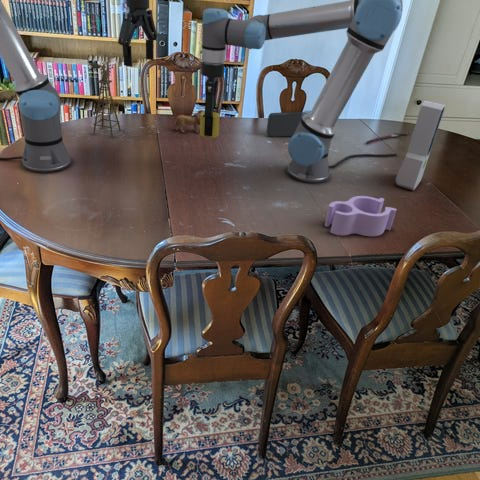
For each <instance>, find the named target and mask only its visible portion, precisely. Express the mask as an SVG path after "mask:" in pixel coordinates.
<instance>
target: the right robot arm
mask: <svg viewBox="0 0 480 480" xmlns="http://www.w3.org/2000/svg"><path fill="white" fill-rule="evenodd" d="M228 14H229V12H228V11H227V10H226V9H222V8H214V7H213V8H212V7H210V8H205V9H204V10H203V14H202V24H201V27H202V28H201V30H202V31H201V49H200V50H199V54H201V58H200V59H201V63H200V75H202V76H203V77H206V78H207V79H206V80H205V83H204V87H205V91H204V92H205V93H204V94H205V95H204V96H205V99H204V111H205V114H204V115H203V117H205V127H204V136H212V131H213V112H216V113H217V111H218V109H219V107H218V106H217V97H218V88H219V87H218V86H219V78H222V77H224V76H225V64H224V63H226V49H227V48H226V47H227V46H233V47H237V48H245V49H248V50H260V49H262V48H263V47H264V44H265V41H272V40H277V39H283V38H290V37H297V36H303V35H304V36H305V35H310V34H311V35H312V34H317V33H324V32H332V31H339V30H345V29H347V30H346V31H345V32H346V36H347V41H346V43H345V45H344V47H343V49H342V50H341V52H340V54H339V56H338V58H337V60H336V62H335V63H334V66H333V68H332V70H331V72H330V74H329V76H328V78H327V79H326V82H325V83H324V85H323V87H322V89H321V91H320V93H319V95H318V97H317V99H316V101H315V103H314V104H313V106H312V109H311V110H305V111H302V112H303V113H302V117H301V121H300V123H299V125H298V127H297V129H296V131H295V133H294V135H293V136H290V138H289V141H288V144H287V151H288V155H289V157H290V158H291V160H290V161H291V162H289V164H288V165H287V174H288V175H289V176H290V177H291V178H292V179H294V180H297V181H299V182H304V183H307V184H321V183H324V182H326V181H328V180H329V178H330V169H331V168H335V167H338V166H340V164H342V163H343V162H345V161H346V160H348V159H350V158H355V157H394V156H395V157H397V155H398V154H397V153H381V154H380V153H379V154H377V153H375V154H374V153H361V154H351V155H347V156H345V157H344V158H343V159H341V160H340V161H338V162H337V163H335V164H332V165H329V153H330V147H331V143H332V140H333V138H334V136H335V135H336V132H337V130H336V127H335V126H336V123H337V121H338V120H339V118H340V116H341V114H342V113H343V111H344V109H345V108H346V106H347V103H348V102H349V100H350V98H351V96H352V95H353V93H354V92H355V90H356V88H357V86H358V84H359V82H360V81H361V78H362V77H363V75H364V74H365V72H366V70H367V68H368V66H369V65H370V62H371V61H372V60H373V58H374V56H375V55H376V54H377V53H380V52H382V51H384V49H385V47H386V45H387V43H388V42H389V40H390V39H391V37H392V35H393V33H394V32H395V31H396V29H397V28H398V27H399V25H400V22H401V20H402V15H403V1H402V0H344V1H338V2H333V3H327V4H320V5H315V6H309V7H304V8H298V9H297V8H296V9H291V10H285V11H279V12H273V13H270V14H269V13H268V14H257V15H254V16H252V17H250V18H247V19H236V18H231V17H229V16H228Z"/></svg>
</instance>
